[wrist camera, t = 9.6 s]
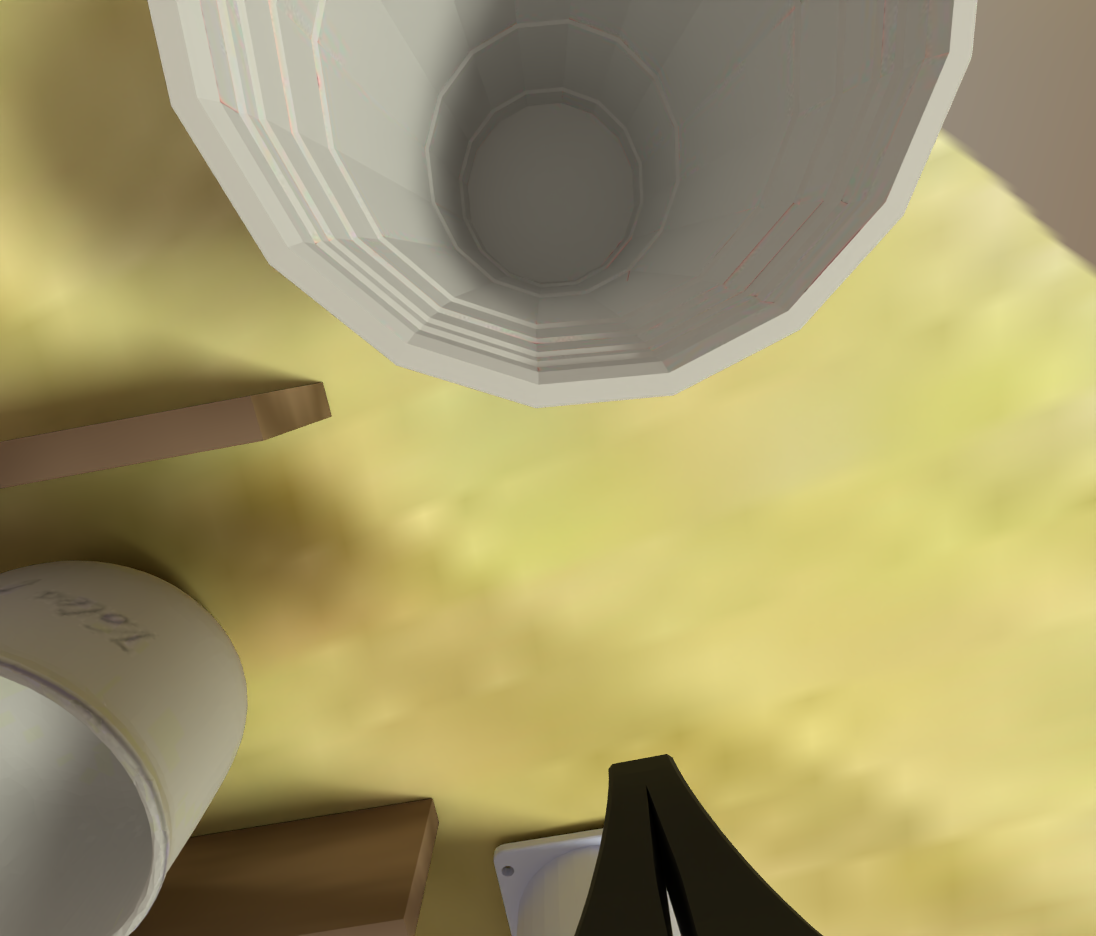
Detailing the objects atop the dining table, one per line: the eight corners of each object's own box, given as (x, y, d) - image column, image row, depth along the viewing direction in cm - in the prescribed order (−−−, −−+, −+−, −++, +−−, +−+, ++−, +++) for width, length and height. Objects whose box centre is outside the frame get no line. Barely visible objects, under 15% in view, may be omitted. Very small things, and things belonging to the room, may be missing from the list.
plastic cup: (615, 425, 20) (719, 546, 8) (335, 269, 19) (-1, 155, 7) (788, 129, 18) (1240, -253, 6) (487, -68, 17) (364, -991, 5)
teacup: (250, 514, 21) (73, 618, 13) (314, 768, 23) (198, 987, 15) (-121, 561, 21) (-514, 692, 13) (-20, 808, 23) (-303, 1043, 16)
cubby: (438, 822, 24) (411, 947, 19) (-4, 893, 24) (-143, 1033, 19) (322, 382, 20) (250, 395, 15) (-203, 479, 20) (-440, 522, 15)
